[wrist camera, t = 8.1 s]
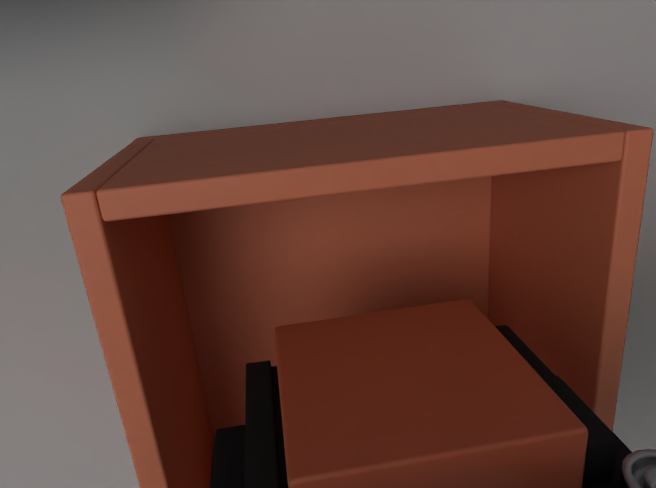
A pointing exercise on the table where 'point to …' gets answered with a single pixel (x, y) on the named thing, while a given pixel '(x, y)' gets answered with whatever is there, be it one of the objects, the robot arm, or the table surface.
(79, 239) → the terracotta bin
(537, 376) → the terracotta block
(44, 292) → the table surface
